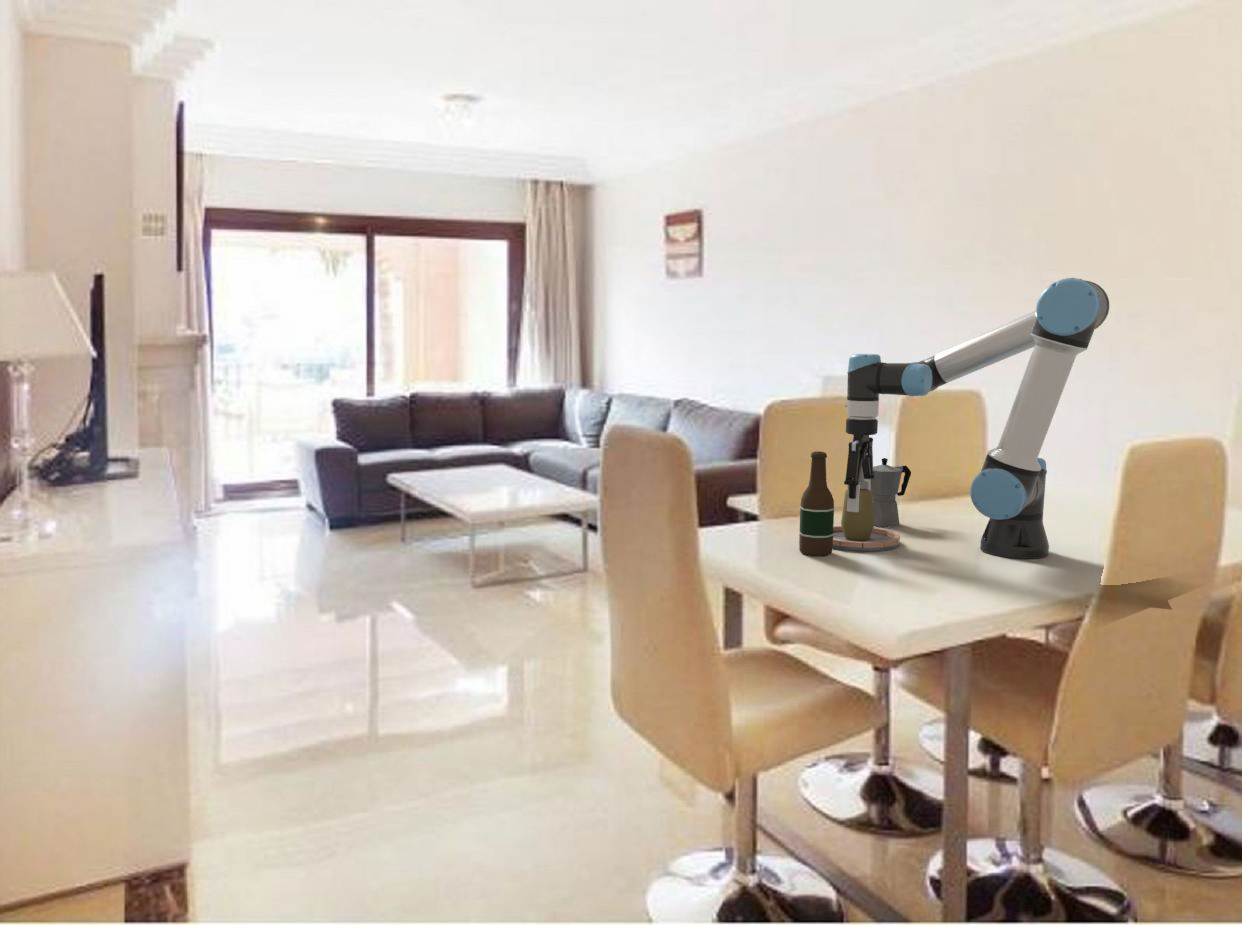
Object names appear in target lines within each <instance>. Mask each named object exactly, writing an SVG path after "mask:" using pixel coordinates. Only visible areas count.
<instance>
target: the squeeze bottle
mask: <svg viewBox="0 0 1242 925" xmlns="http://www.w3.org/2000/svg"><path fill="white" fill-rule="evenodd" d="M868 483H869V482H868V481H866V480H864V476H863V470H862V466H861V472H860V478H859V484H858V485H860V491H859V512H849V511H847V492H848V488H847V489H846V490H845V492H844V499H843V507H842V512H841V514H842V515H841V520H840V526H842V529H843V532H844V535H845V538H847V539H851V540H867V539H869V538H870V535H871V533H872V530H873V527H875V526H874V515H873V500H872V491H870V490H869V489H867V488H868Z"/></svg>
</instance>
